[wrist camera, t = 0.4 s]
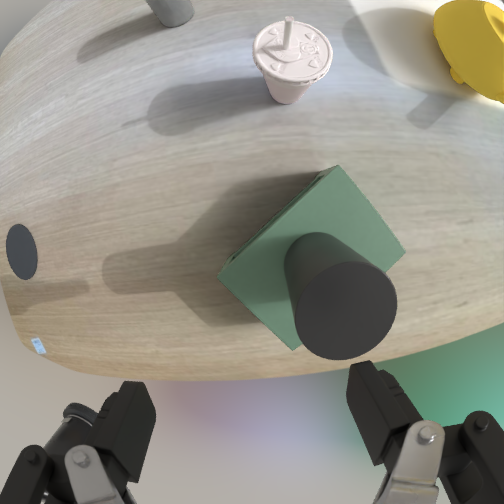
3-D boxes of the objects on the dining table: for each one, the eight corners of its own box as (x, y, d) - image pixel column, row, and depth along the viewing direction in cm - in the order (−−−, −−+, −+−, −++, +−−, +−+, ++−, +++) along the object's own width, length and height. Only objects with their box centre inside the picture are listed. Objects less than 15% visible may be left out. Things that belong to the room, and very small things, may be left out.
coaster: (32, 289, 33) (31, 290, 33) (4, 260, 33) (3, 260, 32) (42, 242, 32) (40, 243, 31) (12, 214, 31) (11, 214, 31)
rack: (288, 319, 32) (292, 351, 25) (227, 258, 30) (216, 277, 24) (378, 239, 29) (406, 252, 22) (322, 170, 28) (338, 164, 21)
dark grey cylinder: (324, 307, 24) (354, 374, 14) (271, 275, 23) (272, 332, 14) (360, 254, 23) (415, 295, 13) (307, 218, 22) (337, 239, 12)
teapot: (514, 137, 24) (574, 131, 11) (453, 134, 25) (527, 117, 12) (475, 27, 20) (519, -1, 7) (406, 9, 22) (446, -40, 8)
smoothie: (256, 65, 26) (246, -11, 12) (312, 66, 25) (339, -7, 12) (257, 115, 27) (248, 56, 13) (317, 116, 27) (353, 61, 13)
